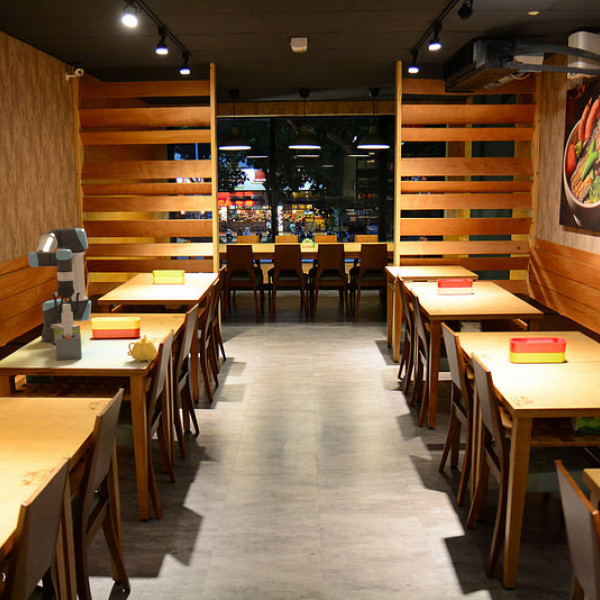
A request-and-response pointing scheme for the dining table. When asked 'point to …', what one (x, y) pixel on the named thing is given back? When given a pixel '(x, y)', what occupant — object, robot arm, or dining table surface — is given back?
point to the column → (67, 320)
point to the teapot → (143, 350)
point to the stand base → (68, 347)
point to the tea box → (61, 332)
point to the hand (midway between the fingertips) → (67, 325)
